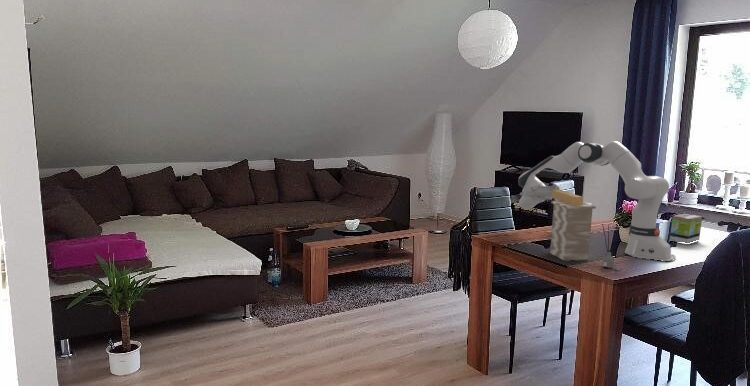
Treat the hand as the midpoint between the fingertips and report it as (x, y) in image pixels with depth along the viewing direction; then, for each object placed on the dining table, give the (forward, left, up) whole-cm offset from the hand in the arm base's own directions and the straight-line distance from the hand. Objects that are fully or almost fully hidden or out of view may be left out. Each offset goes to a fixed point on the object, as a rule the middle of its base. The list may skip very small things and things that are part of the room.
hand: (547, 185), depth 297 cm
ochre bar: (-18, +19, -4) cm, 27 cm away
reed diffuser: (-43, +29, -30) cm, 60 cm away
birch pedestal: (-22, +23, -30) cm, 44 cm away
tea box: (-58, -54, -30) cm, 85 cm away
